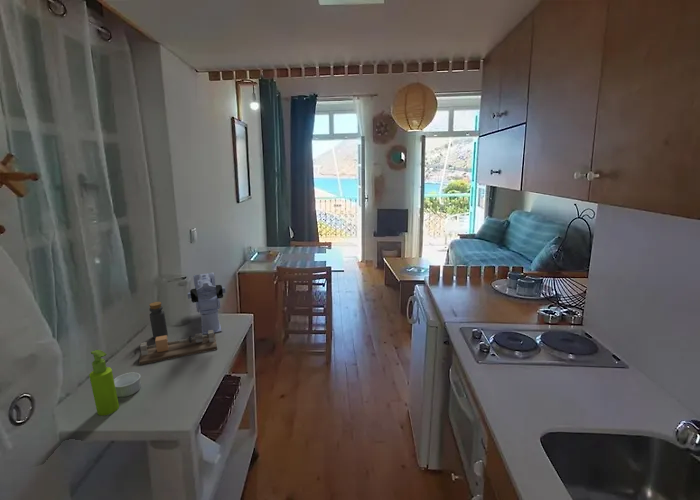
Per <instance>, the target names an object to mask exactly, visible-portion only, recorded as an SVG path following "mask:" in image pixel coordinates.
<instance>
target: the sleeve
mask: <svg viewBox="0 0 700 500" xmlns="http://www.w3.org/2000/svg"><path fill="white" fill-rule="evenodd" d="M167 342H169V339H168V335H164V336H159V337H156V339H155V345H156V348H157V352H162V351H167V350H168V348H169V345H168V343H167Z"/></svg>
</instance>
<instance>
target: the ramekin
mask: <svg viewBox="0 0 700 500" xmlns="http://www.w3.org/2000/svg"><path fill="white" fill-rule="evenodd" d="M114 383H115V388H116V393H117V398H118V397H119V398H124V397H125V398H126V397H129V396H132V395H134V394H136V393H137V392H138V391H140V389H141V387H142V383H141V374H140V373H138V372H136V371H135V372H133V371H132V372H126V373H123V374H120V375H118V376H116V377H115V378H114Z"/></svg>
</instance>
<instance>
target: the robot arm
mask: <svg viewBox="0 0 700 500" xmlns="http://www.w3.org/2000/svg"><path fill="white" fill-rule="evenodd" d="M193 284H194V288H191V289H190V291H189V292H187V299H191V301H190V302H191V303H195V306H196V307H195V308H196V312H197V313H199V314H200V321H201V333H202V336H203V335H208V331H209V330H213V333H214V334H215V333H219V332H220V333H221V332H222V326H221V323H220V320H219V318H220V317H219V310H220V309H221V301H220V299H223V298H224V294H226V293H227V292H226V287H225V286H224V287H223V286H222V284H216V278H215V273H214V272H213V271H212V272H209V273H208V272H207V273H200V274H194V275H193Z"/></svg>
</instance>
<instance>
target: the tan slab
mask: <svg viewBox="0 0 700 500" xmlns="http://www.w3.org/2000/svg"><path fill="white" fill-rule="evenodd" d="M147 343H148V342H145V341H144V342H141V343H140V345H139V346H140V353H141V354H140V356H139V360H138V361H139V362H138V363H139V365H140V366H141V365H142V366H143V365H147V364H151V363H157V362H161V361H166V360H170V359H175V358H180V357H186V356H189V355H190V356H191V355H196V354H200V353H205V352H209V351H215V350H218V346H217V339H216V334H215V333H213V330H209V331H208V334H205V335H202V332H200V333H195V334H194V336H193V337H192V336H191V335H190V336H188V338H183V339H178V340H177V339H176V340H173V341H168V342H167V343H168V345H169V348H168V350H167V351H162V352H157V348H156V344H151V345H148V344H147Z"/></svg>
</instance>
